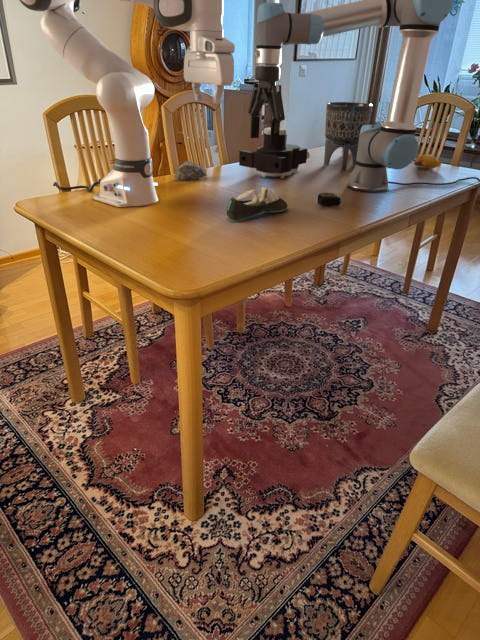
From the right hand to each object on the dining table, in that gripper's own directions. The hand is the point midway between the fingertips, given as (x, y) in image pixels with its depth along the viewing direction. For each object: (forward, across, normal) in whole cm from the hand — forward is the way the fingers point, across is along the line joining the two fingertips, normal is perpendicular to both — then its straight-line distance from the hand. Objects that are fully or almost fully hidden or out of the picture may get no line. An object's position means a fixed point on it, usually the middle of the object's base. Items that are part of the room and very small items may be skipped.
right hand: (264, 141), depth 146 cm
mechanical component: (+20, -38, +29) cm, 51 cm away
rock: (+20, -41, -10) cm, 47 cm away
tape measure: (+20, +13, +19) cm, 30 cm away
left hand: (-12, +6, -22) cm, 26 cm away
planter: (+20, -40, +63) cm, 77 cm away
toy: (+19, -25, +100) cm, 105 cm away
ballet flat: (+20, +12, -7) cm, 25 cm away
